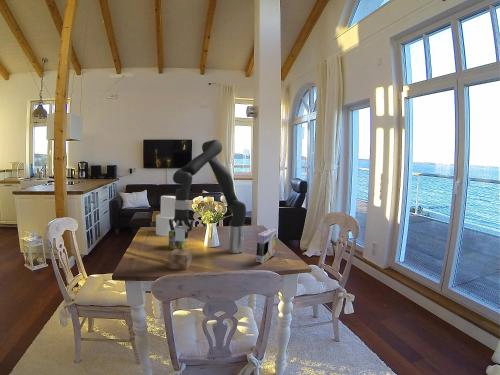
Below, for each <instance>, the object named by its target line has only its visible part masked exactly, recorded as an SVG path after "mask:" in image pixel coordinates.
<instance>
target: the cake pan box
mask: <svg viewBox="0 0 500 375" xmlns="http://www.w3.org/2000/svg"><path fill="white" fill-rule="evenodd" d="M277 231H278V230H277V229H276V228H269V229H266V230H264V231H262V232H261V233H258V234H257V241H256V242H257V243H256V254H255V256H256V257H255V263H256V262H264V261H265V260H266V259H268V258H269V257H271V256H273V255H274V254H275V253H276V242H277ZM275 255H276V254H275Z"/></svg>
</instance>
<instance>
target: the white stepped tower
mask: <svg viewBox="0 0 500 375" xmlns="http://www.w3.org/2000/svg"><path fill="white" fill-rule="evenodd" d="M175 200H176V195H161V196H160V213H158V214H156V215H155V234H156V235H157V236H160V237H169V231H170V230H171V229H170V224H169V220H170V219H174V217H175ZM175 225H176V223H175V222H173V226H174V228H175Z"/></svg>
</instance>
